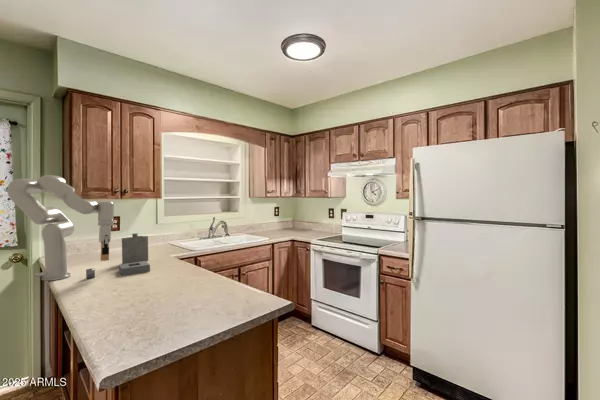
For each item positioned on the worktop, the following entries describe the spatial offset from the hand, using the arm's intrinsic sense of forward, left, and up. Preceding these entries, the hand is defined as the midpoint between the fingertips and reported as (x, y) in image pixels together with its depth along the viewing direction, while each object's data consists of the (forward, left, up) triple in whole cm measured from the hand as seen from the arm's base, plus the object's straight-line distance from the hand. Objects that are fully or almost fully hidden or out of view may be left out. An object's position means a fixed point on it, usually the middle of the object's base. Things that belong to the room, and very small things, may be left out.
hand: (104, 253), depth 169 cm
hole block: (+15, 0, -13) cm, 20 cm away
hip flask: (+20, +24, -13) cm, 34 cm away
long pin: (0, 0, -4) cm, 4 cm away
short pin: (-7, -1, -13) cm, 15 cm away
